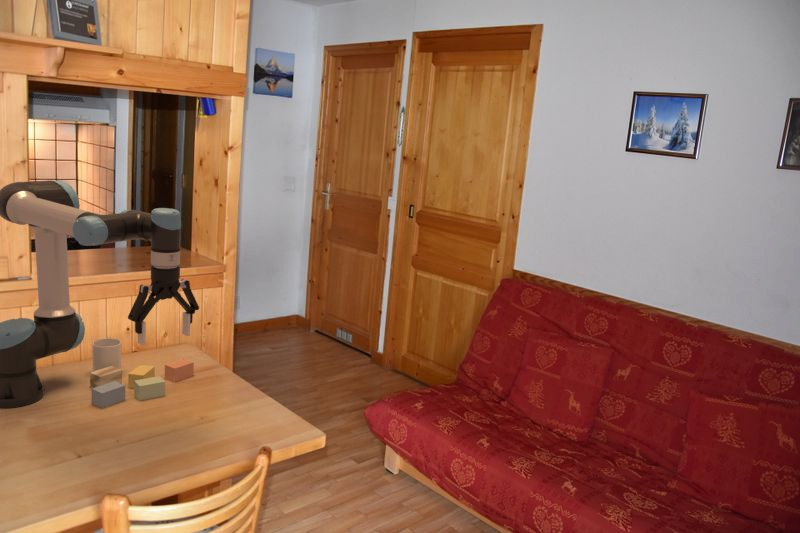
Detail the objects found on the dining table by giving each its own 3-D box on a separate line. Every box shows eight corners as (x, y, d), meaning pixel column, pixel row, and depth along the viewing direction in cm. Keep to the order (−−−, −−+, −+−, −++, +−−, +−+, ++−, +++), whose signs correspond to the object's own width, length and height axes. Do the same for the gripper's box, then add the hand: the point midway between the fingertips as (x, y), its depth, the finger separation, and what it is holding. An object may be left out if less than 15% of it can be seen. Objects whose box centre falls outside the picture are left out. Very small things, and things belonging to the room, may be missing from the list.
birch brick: (90, 387, 209) (90, 372, 208) (112, 379, 216) (112, 365, 215) (100, 391, 207) (100, 376, 206) (122, 384, 214) (122, 369, 213)
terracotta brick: (164, 378, 221) (164, 364, 220) (183, 372, 228) (183, 358, 227) (174, 382, 219) (175, 368, 218) (193, 375, 225) (193, 362, 224)
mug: (119, 378, 218) (119, 346, 215) (90, 379, 215) (90, 347, 213) (124, 365, 229) (124, 334, 226) (96, 365, 226) (96, 334, 224)
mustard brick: (128, 388, 211) (128, 373, 210) (140, 378, 219) (140, 364, 218) (143, 390, 211) (143, 375, 210) (154, 380, 219) (154, 366, 218)
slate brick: (91, 404, 198) (91, 388, 197) (115, 395, 205) (115, 381, 204) (102, 408, 196) (101, 393, 195) (125, 400, 203) (125, 385, 201)
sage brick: (134, 395, 207) (134, 380, 206) (159, 390, 212) (159, 376, 211) (139, 401, 203) (139, 386, 202) (165, 396, 208) (165, 381, 207)
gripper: (128, 273, 167) (128, 352, 171) (212, 263, 186) (210, 334, 190) (114, 267, 171) (114, 344, 176) (197, 258, 190) (195, 327, 195)
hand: (164, 339), depth 183 cm, fingers open, 13 cm apart
